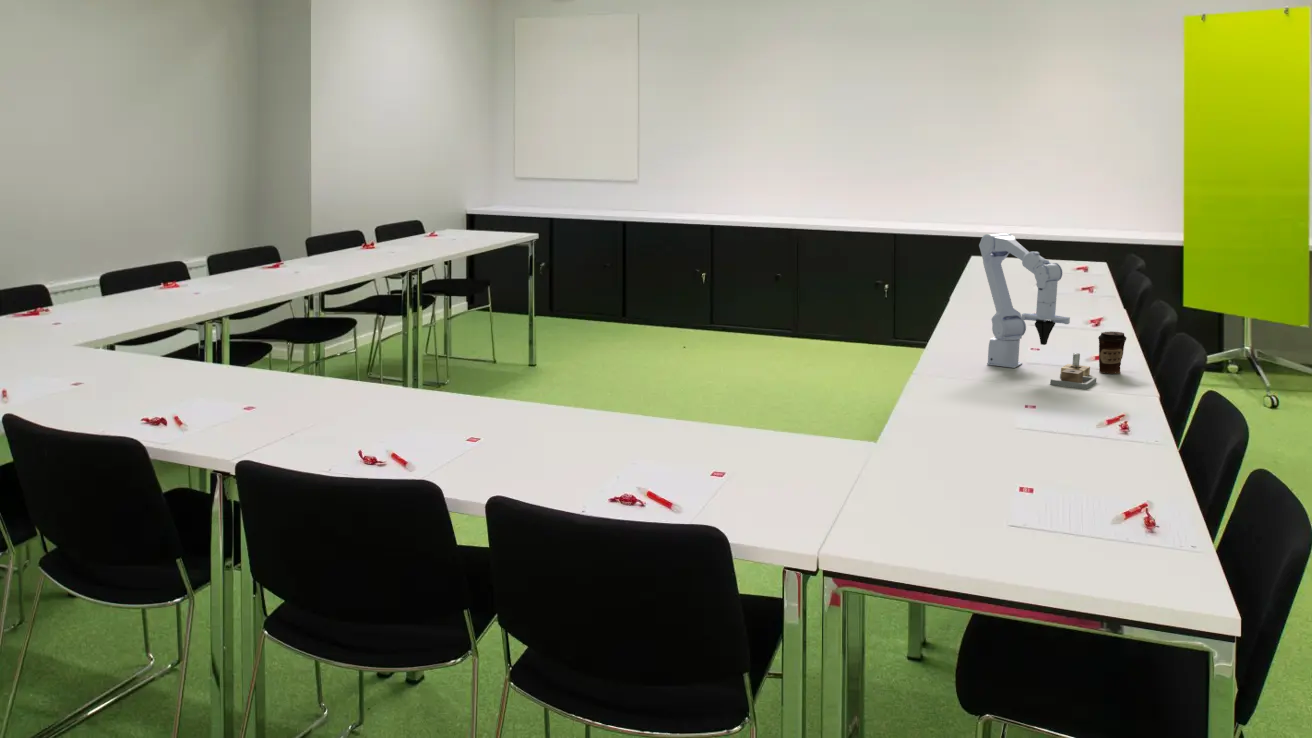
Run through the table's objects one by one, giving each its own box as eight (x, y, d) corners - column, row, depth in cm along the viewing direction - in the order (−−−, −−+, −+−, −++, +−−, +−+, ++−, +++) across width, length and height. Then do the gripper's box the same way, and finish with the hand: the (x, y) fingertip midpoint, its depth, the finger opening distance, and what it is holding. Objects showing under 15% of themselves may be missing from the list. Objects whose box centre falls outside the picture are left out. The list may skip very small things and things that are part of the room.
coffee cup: (1126, 376, 346) (1129, 335, 344) (1098, 375, 348) (1101, 335, 345) (1120, 370, 355) (1123, 330, 352) (1093, 369, 356) (1096, 330, 354)
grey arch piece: (1050, 384, 336) (1050, 379, 336) (1060, 378, 344) (1061, 373, 344) (1086, 389, 330) (1086, 384, 329) (1096, 382, 338) (1096, 377, 338)
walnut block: (1060, 384, 337) (1061, 371, 336) (1065, 381, 341) (1066, 368, 340) (1077, 386, 334) (1078, 373, 333) (1082, 383, 338) (1083, 370, 337)
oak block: (1060, 375, 348) (1061, 367, 347) (1067, 371, 353) (1067, 363, 352) (1083, 378, 343) (1083, 370, 343) (1089, 374, 349) (1090, 366, 348)
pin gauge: (1071, 375, 348) (1072, 353, 346) (1072, 374, 350) (1074, 352, 348) (1077, 376, 347) (1079, 354, 345) (1079, 374, 348) (1080, 353, 347)
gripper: (1019, 301, 346) (1016, 343, 348) (1066, 305, 337) (1063, 348, 340) (1026, 298, 351) (1024, 340, 354) (1072, 302, 343) (1069, 345, 346)
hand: (1043, 344), depth 347 cm, fingers closed
